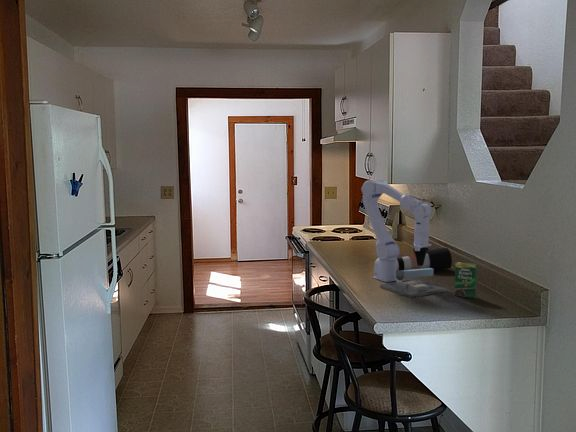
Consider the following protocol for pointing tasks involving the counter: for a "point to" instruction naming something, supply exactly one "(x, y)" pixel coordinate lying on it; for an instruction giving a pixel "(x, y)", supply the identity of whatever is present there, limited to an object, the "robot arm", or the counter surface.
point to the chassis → (413, 288)
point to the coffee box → (465, 280)
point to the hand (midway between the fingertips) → (420, 265)
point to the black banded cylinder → (427, 260)
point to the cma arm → (414, 273)
